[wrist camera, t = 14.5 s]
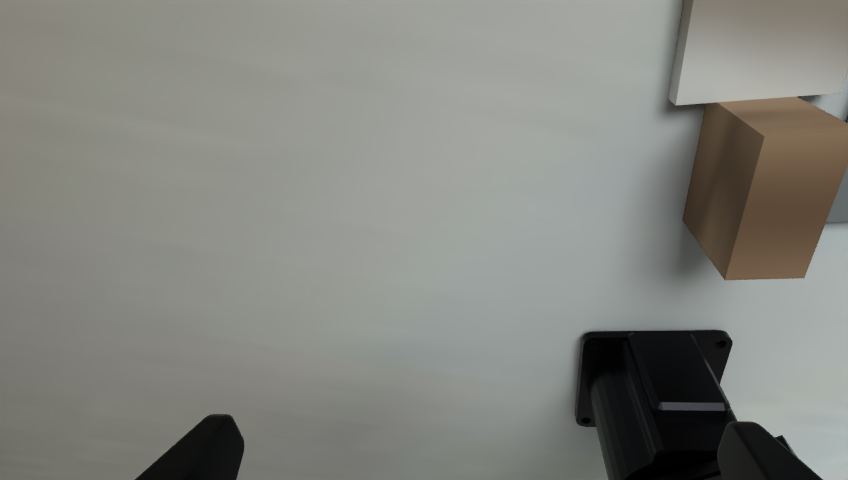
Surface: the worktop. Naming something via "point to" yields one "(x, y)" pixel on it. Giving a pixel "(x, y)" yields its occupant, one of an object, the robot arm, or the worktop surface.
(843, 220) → the slate mat
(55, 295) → the worktop surface
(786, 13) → the grey-capped brown block
